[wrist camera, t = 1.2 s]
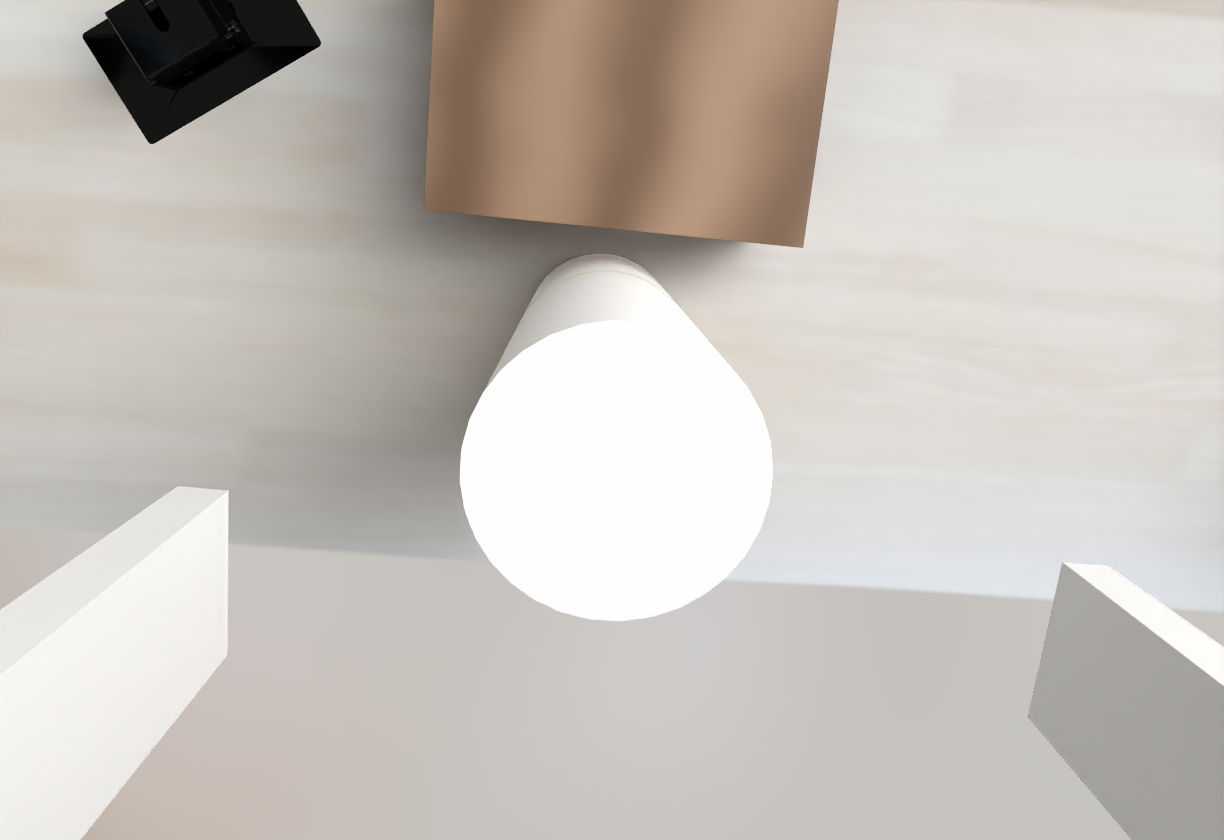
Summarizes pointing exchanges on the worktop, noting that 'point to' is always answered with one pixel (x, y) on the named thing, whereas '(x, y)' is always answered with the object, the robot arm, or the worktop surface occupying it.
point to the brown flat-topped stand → (630, 113)
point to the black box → (194, 54)
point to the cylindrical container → (613, 450)
